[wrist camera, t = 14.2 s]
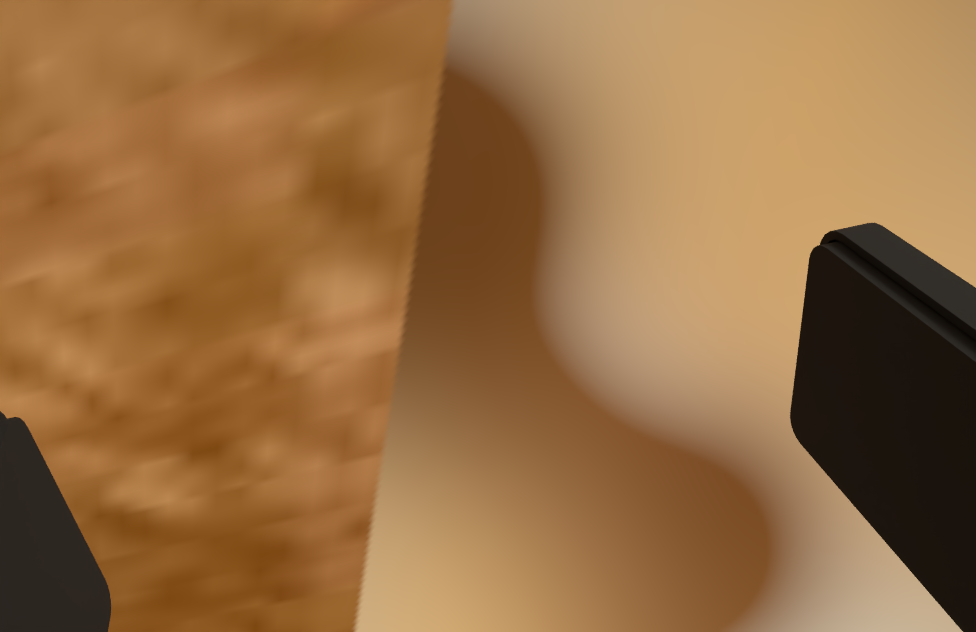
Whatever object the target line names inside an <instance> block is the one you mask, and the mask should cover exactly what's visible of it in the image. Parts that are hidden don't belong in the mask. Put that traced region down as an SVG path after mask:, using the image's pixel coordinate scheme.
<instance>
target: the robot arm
mask: <svg viewBox="0 0 976 632" xmlns="http://www.w3.org/2000/svg"><path fill="white" fill-rule="evenodd" d="M790 419H791V425H792V428H793V432H794V434H795V436H796V438H797V439H798V441H799V442H800V444H801V445H802V446H803V447H804V448H805V449H806V451H807V452H809V454H810V455H811V456H812V457H813V459H814V460H815V461H816V462H817V463H818V464H819V466H820V467H821V468H822V469H823V470H824V471H825V473H826V474H827V475H828V476H829V477H830V478H831V479H832V480H833V482H834V483H835V484H836V485H837V486H838V488H839V489H840V490H841V491H842V492H843V493H844V494H845V496H846V497H847V498H848V499H849V500H850V501H851V503H852V504H853V505H854V506H855V507H856V508H857V510H858V511H859V512H860V513H861V514H862V515H863V516H864V518H865V519H866V520H867V521H868V522H869V523H870V525H871V526H872V527H873V528H874V529H875V530H876V532H877V533H878V534H879V535H880V536H881V537H882V539H883V540H884V541H885V542H886V543H887V544H888V545H889V547H890V548H891V549H892V550H893V551H894V552H895V554H896V555H897V556H898V557H899V558H900V559H901V561H902V562H903V563H904V564H905V565H906V566H907V567H908V569H909V570H910V571H911V572H912V573H913V574H914V576H915V577H916V578H917V579H918V580H919V581H920V583H921V584H922V585H923V586H924V587H925V588H926V589H927V591H928V592H929V593H930V594H931V595H932V596H933V598H934V599H935V600H936V601H937V602H938V603H939V604H940V605H941V607H942V608H943V609H944V610H945V611H946V613H947V614H948V615H949V616H950V617H951V618H952V619H953V620H954V622H955V623H956V624H957V625H958V626H959V627H960V629H961V630H962V631H963V632H976V288H975V287H973V286H972V285H970V284H969V283H968V282H966V281H965V280H963V279H962V278H960V277H959V276H957V275H955V274H954V273H953V272H951V271H950V270H948V269H946V268H945V267H943V266H942V265H940V264H939V263H937V262H936V261H934V260H933V259H931V258H930V257H928V256H927V255H925V254H924V253H922V252H921V251H919V250H918V249H916V248H915V247H913V246H912V245H910V244H909V243H907V242H905V241H904V240H903V239H901V238H900V237H898V236H897V235H895V234H894V233H892V232H891V231H889V230H888V229H886V228H885V227H883V226H881V225H879V224H877V223H867V224H863V225H858V226H853V227H848V228H843V229H839V230H834V231H830V232H828V233H827V234H825V235H824V237H823V239H822V240H821V243H820V245H819V246H817V247H815V248H814V249H813V250H812V252H811V254H810V258H809V265H808V274H807V282H806V291H805V298H804V307H803V315H802V322H801V331H800V339H799V347H798V355H797V363H796V371H795V379H794V388H793V396H792V404H791V412H790ZM110 615H111V599H110V593H109V589H108V585H107V583H106V580H105V578H104V576H103V574H102V572H101V570H100V568H99V567H98V565H97V563H96V561H95V559H94V557H93V555H92V553H91V551H90V549H89V547H88V545H87V543H86V541H85V539H84V537H83V535H82V533H81V531H80V529H79V527H78V525H77V523H76V521H75V519H74V517H73V515H72V513H71V511H70V510H69V508H68V506H67V504H66V502H65V500H64V498H63V496H62V494H61V492H60V490H59V488H58V486H57V484H56V482H55V480H54V478H53V476H52V474H51V472H50V470H49V468H48V466H47V464H46V462H45V460H44V458H43V456H42V455H41V453H40V451H39V449H38V447H37V445H36V443H35V441H34V439H33V437H32V435H31V433H30V431H29V429H28V427H27V426H26V424H25V422H24V421H23V420H22V419H20V418H18V417H13V418H8V419H7V418H6V417H5V415H4V414H3V413H2V412H0V632H108V627H109V622H110Z"/></svg>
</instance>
